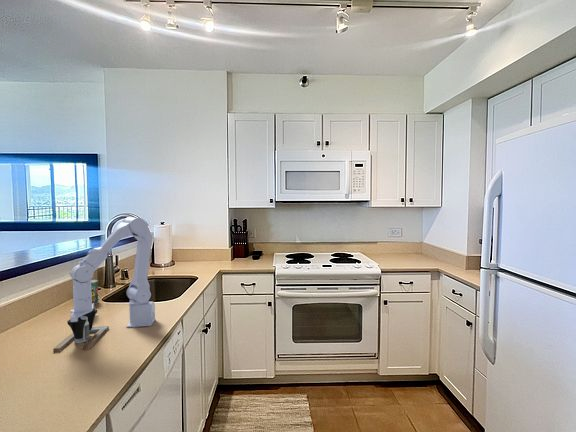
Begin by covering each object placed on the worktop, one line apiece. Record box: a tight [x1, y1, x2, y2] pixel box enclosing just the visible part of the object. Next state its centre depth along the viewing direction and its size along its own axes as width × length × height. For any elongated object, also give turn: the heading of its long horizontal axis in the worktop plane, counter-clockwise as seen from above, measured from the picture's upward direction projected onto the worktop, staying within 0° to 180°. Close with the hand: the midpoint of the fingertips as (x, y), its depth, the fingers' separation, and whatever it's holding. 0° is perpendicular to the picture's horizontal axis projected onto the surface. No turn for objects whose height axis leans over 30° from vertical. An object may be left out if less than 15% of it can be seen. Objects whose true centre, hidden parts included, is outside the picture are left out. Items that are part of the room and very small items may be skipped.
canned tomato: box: [91, 279, 99, 305], centre depth 161 cm, size 8×8×11 cm
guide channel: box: [52, 329, 107, 353], centre depth 118 cm, size 11×15×1 cm
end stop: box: [89, 325, 109, 334], centre depth 127 cm, size 11×3×1 cm, turn 99°
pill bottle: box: [73, 316, 91, 344], centre depth 119 cm, size 5×5×8 cm
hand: (83, 334), depth 120 cm, fingers open, 7 cm apart
